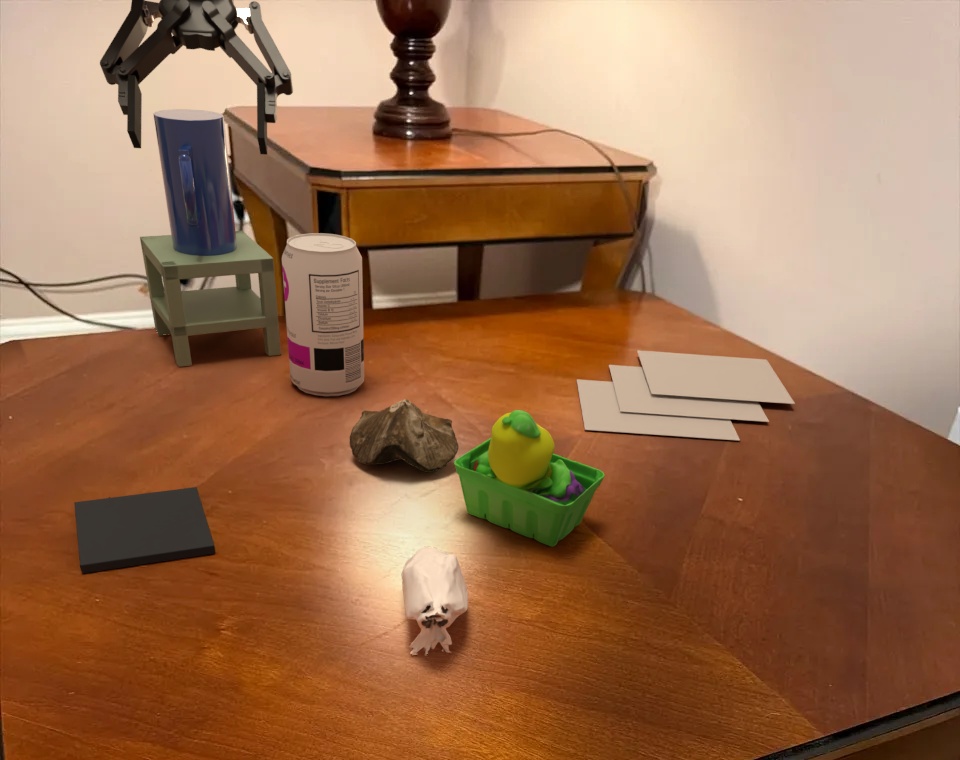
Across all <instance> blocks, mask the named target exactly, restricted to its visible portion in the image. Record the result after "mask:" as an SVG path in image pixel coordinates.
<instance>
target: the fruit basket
mask: <svg viewBox="0 0 960 760" xmlns="http://www.w3.org/2000/svg"><path fill="white" fill-rule="evenodd" d="M554 441H555V440H554V439H553V437H552V435H551V433H550V432H549V431H548V430H547V429H546V428H544V427H542V426H541V425H539V423H537V422H536V421H535V419H534V418H533V417H532V415H531V414H530V413H529V412H527V411H525V410H522V409H515V410H512V411H511V412H507V413H504V414H503V415H502V416H500V417H499V418H498V419H496V421H495V422H494V424H493V425H492V428H491V431H490V437H489V438H488V439H487V440H485V441H483V442H481V443H480V444H478V445H477V446H475V447H474V448H472V449H470V450H468V451H467V452H465V453H464V454H462V455H461V456H459V457H458V458H456V459H455V460H454V461H453V464H454V467H455V471H456V473H457V475H458V478H459V482H460V486H461V490H462V495H463V499H464V504H465V508H466V512H467V514H469V515H472V516H474V517H477V518H479V519H482V520H487V521H488V522H489V523H491V524H494V525H497V526H499V527H501V528H504V529H510V530H511V531H512V532H514V533H516V534H518V535H520V536H523V537H525V538H529V539H534V540H535V541H537V542H538V543H541V544H543V545H545V546H549V547H550V548H553V547H555V546H556V545H557V544H558V542H559V541H561V540H563V539H564V538H566V537H567V536H568V535H569V534H570V533H572V531H573V530H574V528H576V527H578V526H579V525H581V523H582V521H583V519H584V517H585V514H586V512H587V511H588V509H589V506H590V505H591V502H592V500H593V497H594V495H595V493H596V491H597V489H598V488H600V486H601V484H602V482H603V480H604V478H605V477H606V476H605V473H604V471H603V470H601V469H599V468H597V467H593V466H590V465H587V464H584V463H582V462H579V461H575V460H572V459H570V458H567V457H564V456H561V455H559V454H556V453H554V451H555V447H556V446H555V442H554Z"/></svg>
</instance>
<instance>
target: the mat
mask: <svg viewBox="0 0 960 760" xmlns="http://www.w3.org/2000/svg"><path fill="white" fill-rule="evenodd" d="M73 504H74V515H75V526H76V536H77V548H78V558H79V568H80V571H81V573H82V574H88V573H94V572H102V571H108V570H115V569H121V568H128V567H134V566H140V565H141V566H142V565H149V564H154V563H160V562H167V561H168V562H169V561H175V560H180V559H188V558H193V557H200V556H207V555H213V554H216V546H215V543H214V539H213V536H212V533H211V530H210V527H209V526H210V525H209V523H208V520H207V517H206V513H205V510H204V507H203V503H202V499H201V497H200V494H199V490H198V487H197V486H193V487H185V488H179V489H178V488H176V489H170V490H161V491H160V490H159V491H153V492H146V493H145V492H143V493H137V494H127V495H122V496H121V495H120V496H114V497H113V496H112V497H104V498H96V499H89V500H80V501H74V503H73Z"/></svg>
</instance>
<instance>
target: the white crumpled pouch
mask: <svg viewBox="0 0 960 760" xmlns="http://www.w3.org/2000/svg"><path fill="white" fill-rule="evenodd" d="M403 565H404V566H403V568H402V571H401V580H402V581H401V587H402V592H403V602H404V613H405V614H404V615H405V620H409V621H416V622H417V625H418V627H419V628H420V632H419V633H418V634H417V636H416V637H415V639H414V640H413V641H412V642H411V643H410V644H409V648H411V649H412V648H413V649H412V650H411V651H410V652H409V654H410V655H411V654H412V653H414V655H417V656H418V652H419V651H420V650H422V649H423V650H424V652H425V653H424V654H428V655H429V651H430V649H432V650H434V649H435V648H436V646H437V645H438V643H439V644H440V646H441V647H442V650H441V652H443V653H444V651H445V652H446V653H448V654H449V653H450V654H452V653H453V652H452V651H450V649H449V647H450V646H451V645H452V644H453V641H452V638H451V635H450V634H449V632H448V631H447V628H449V627H450V626H452V625H453V623H454V622H455V621H456V619H457V618H458V617H459V616H461V615H462V614H464V613H466V612H467V611H468V608H469V590H468V587H467V582H466V580H465V576H464V574H463V571H462V568H461V566H460V563H459V559H458V557H457V555H456V554H450V553H448V552H447V551H443V550H442V549H439V548H437V547H432V546H429V545H427V546H426V545H425V546H421V547H420V548H419V549H418V550H416V551H415V553H414V554H412V556H411V557H410V558H408V559H407V560H406V561H405V562H404V564H403Z"/></svg>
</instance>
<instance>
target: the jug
mask: <svg viewBox="0 0 960 760" xmlns="http://www.w3.org/2000/svg"><path fill="white" fill-rule="evenodd" d="M153 120H154V121H153V122H154V126H155V133H156V140H157V141H156V142H157V147H158V155H159V161H160V167H161V168H160V169H161V172H162V174H161V175H162V180H163V181H162V182H163V188H164V194H165V201H166V208H167V215H168V222H169V230H170V235H171V236H172V243H173V248H174V249H175V250H176V251H178V252H180V253H184V254H189V255H198V256H213V255H222V254H227V253H230V252H233V251H235V250H236V249H237V240H236V231H237V230H236V223H235V222H236V221H235V212H234V203H233V194H232V186H231V185H232V183H231V174H230V165H229V164H230V163H229V155H228V146H227V136H226V135H227V134H226V126H225V117H224V115H223V114H222V113H219V112H215V111H211V110H202V109H188V108H187V109H185V108H184V109H182V108H180V109H179V108H178V109H177V108H174V109H163V110H158V111H155V112H154V113H153Z"/></svg>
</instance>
